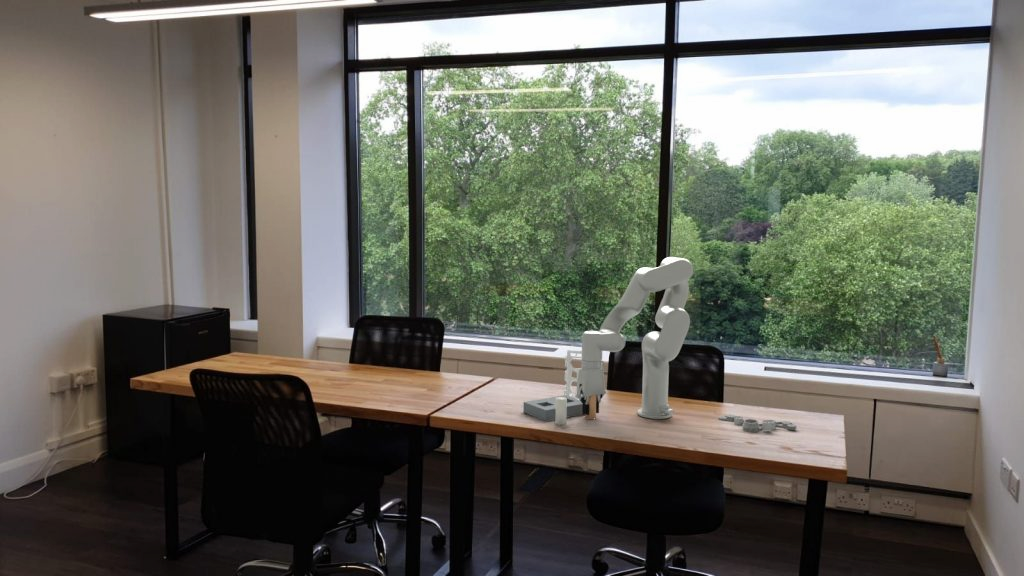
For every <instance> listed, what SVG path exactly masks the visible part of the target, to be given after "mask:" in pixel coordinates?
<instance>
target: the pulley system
mask: <svg viewBox="0 0 1024 576" xmlns="http://www.w3.org/2000/svg"><path fill="white" fill-rule="evenodd" d="M717 419H718V420H719V421H724V422H731V423H734V425H736V426H737V425H738V426H740V425H741V426H742V430H743V431H746V432H748V433H749V432H750V433H758V432H761V431H768V432H769V431H774V430H776V428H779V429H784V430H785V429H786V430H789V431H795V430H797V425H796V424H794V423H792V422H791V421H787V420H783V421H776V420H773V419H767V420H762V423H759V420H757V419H753V418H752V419H751V418H748V419H747V418H746V419H744V418H743V416H740V415H738V416H737V415H736V416H735V414H727V415H719V416H718V418H717ZM760 427H761V428H760Z"/></svg>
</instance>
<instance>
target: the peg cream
mask: <svg viewBox="0 0 1024 576" xmlns="http://www.w3.org/2000/svg"><path fill="white" fill-rule="evenodd" d="M557 397H558V396H557ZM567 418H568V417H567V398H564V397H558V398H556V410H555V419H554V422H555V423H554V424H555V425H559V426H562V425H563V426H564V425H566V424H567Z"/></svg>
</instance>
